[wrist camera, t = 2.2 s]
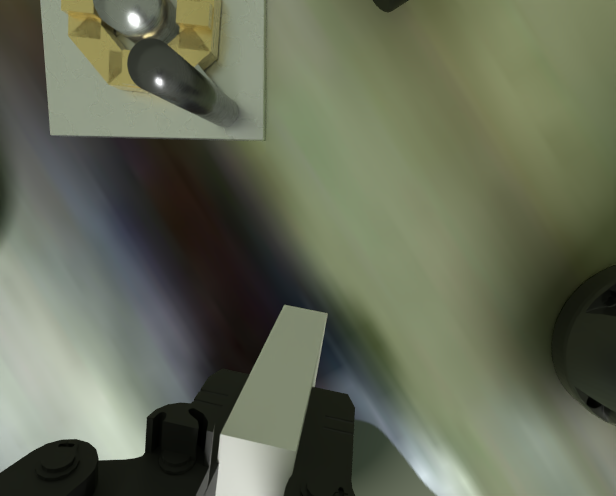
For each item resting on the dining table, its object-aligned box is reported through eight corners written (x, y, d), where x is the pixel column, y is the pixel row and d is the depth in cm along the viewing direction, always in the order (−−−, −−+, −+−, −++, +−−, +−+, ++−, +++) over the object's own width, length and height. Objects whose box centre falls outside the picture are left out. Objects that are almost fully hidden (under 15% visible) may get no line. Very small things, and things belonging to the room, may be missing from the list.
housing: (267, -92, 34) (254, -154, 28) (265, 141, 37) (253, 133, 31) (44, -93, 34) (-19, -155, 28) (61, 136, 37) (7, 128, 31)
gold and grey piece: (54, 10, 34) (-151, -118, 19) (156, -88, 33) (18, -308, 18) (183, 166, 36) (86, 159, 21) (285, 79, 34) (257, 7, 20)
